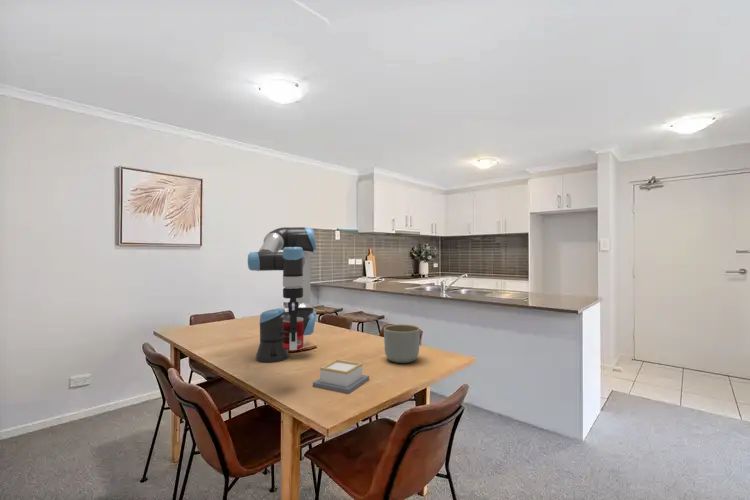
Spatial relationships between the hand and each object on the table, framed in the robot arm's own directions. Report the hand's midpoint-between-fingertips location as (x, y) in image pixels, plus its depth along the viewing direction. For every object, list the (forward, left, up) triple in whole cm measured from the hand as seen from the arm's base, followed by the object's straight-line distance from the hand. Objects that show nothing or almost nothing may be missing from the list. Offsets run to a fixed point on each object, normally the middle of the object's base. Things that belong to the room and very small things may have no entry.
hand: (293, 346), depth 139 cm
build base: (+15, +12, -15) cm, 24 cm away
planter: (+25, +50, -16) cm, 57 cm away
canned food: (0, 0, -1) cm, 1 cm away
